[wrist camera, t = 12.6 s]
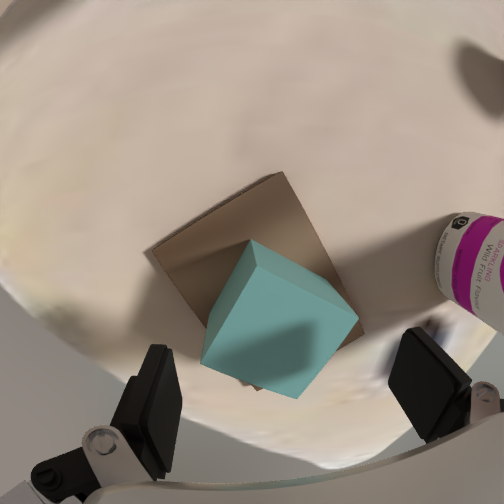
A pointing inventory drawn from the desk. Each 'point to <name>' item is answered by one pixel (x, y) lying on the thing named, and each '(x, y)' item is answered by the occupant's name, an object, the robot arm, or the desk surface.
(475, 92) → the desk surface
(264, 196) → the post board
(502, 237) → the supplement can
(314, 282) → the teal cube
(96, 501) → the robot arm
